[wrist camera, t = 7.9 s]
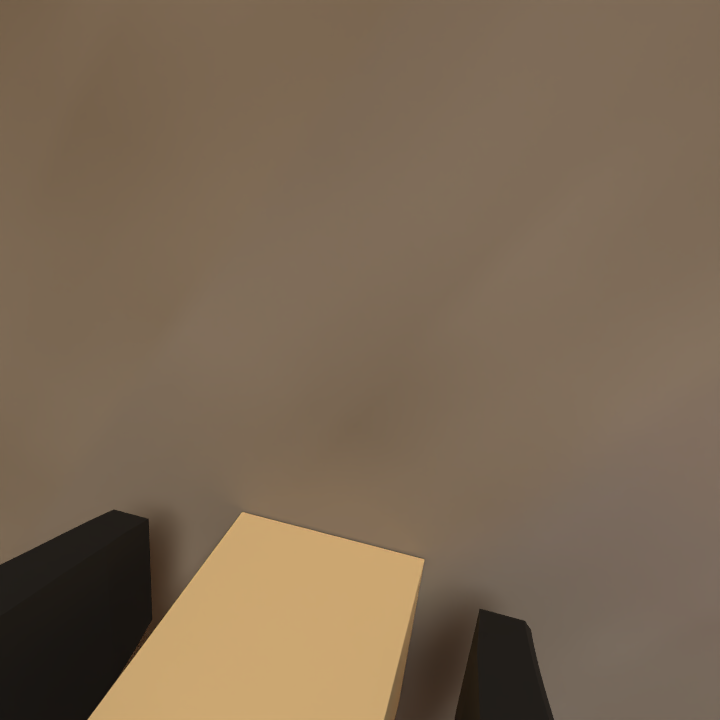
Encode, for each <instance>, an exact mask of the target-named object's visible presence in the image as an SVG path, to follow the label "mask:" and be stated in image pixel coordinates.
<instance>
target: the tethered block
mask: <svg viewBox="0 0 720 720" xmlns="http://www.w3.org/2000/svg"><path fill="white" fill-rule="evenodd" d="M424 560H425V559H421V558H417V557H413V556H410V555H406V554H402V553H398V552H394V551H390V550H386V549H383V548H379V547H375V546H371V545H367V544H363V543H359V542H356V541H352V540H348V539H344V538H340V537H336V536H333V535H329V534H325V533H321V532H317V531H313V530H309V529H306V528H302V527H298V526H294V525H290V524H286V523H282V522H279V521H275V520H271V519H267V518H263V517H259V516H255V515H252V514H248V513H244V512H242V513H241V514H240V516H239V517H238V518H237V520H236V521H235V522H234V524H233V525H232V526H231V528H230V529H229V530H228V532H227V533H226V534H225V536H224V537H223V539H222V540H221V541H220V543H219V544H218V545H217V547H216V548H215V549H214V551H213V552H212V553H211V555H210V556H209V557H208V559H207V560H206V561H205V563H204V564H203V565H202V567H201V568H200V569H199V571H198V572H197V573H196V575H195V576H194V577H193V579H192V580H191V581H190V583H189V584H188V586H187V587H186V588H185V590H184V591H183V592H182V594H181V595H180V596H179V598H178V599H177V600H176V602H175V603H174V604H173V606H172V607H171V608H170V610H169V611H168V612H167V614H166V615H165V616H164V618H163V619H162V620H161V622H160V623H159V624H158V626H157V627H156V628H155V630H154V631H153V633H152V634H151V635H150V637H149V638H148V639H147V641H146V642H145V643H144V645H143V646H142V647H141V649H140V650H139V651H138V653H137V654H136V655H135V657H134V658H133V659H132V661H131V662H130V663H129V665H128V666H127V667H126V669H125V670H124V671H123V673H122V674H121V675H120V677H119V678H118V679H117V681H116V682H115V684H114V685H113V686H112V688H111V689H110V690H109V692H108V693H107V694H106V696H105V697H104V698H103V700H102V701H101V702H100V704H99V705H98V706H97V708H96V709H95V710H94V712H93V713H92V714H91V716H90V717H89V718H88V720H395V716H396V712H397V707H398V703H399V699H400V693H401V688H402V682H403V677H404V671H405V666H406V660H407V654H408V649H409V643H410V638H411V632H412V627H413V621H414V616H415V610H416V604H417V599H418V593H419V588H420V582H421V577H422V571H423V565H424Z"/></svg>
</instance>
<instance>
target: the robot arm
mask: <svg viewBox="0 0 720 720" xmlns="http://www.w3.org/2000/svg"><path fill="white" fill-rule="evenodd" d="M151 620H152V602H151V575H150V548H149V521H148V519H147V518H143V517H139V516H136V515H132V514H128V513H125V512H121V511H117V510H112V511H110V512H107V513H105V514H103V515H101V516H98V517H96V518H94V519H92V520H90V521H88V522H86V523H84V524H82V525H80V526H78V527H76V528H74V529H72V530H70V531H68V532H66V533H64V534H62V535H60V536H58V537H56V538H54V539H52V540H50V541H48V542H46V543H44V544H42V545H40V546H38V547H36V548H34V549H32V550H30V551H28V552H26V553H24V554H21V555H19V556H17V557H15V558H13V559H11V560H9V561H7V562H5V563H3V564H1V565H0V720H87V719H88V718H89V716H90V715H91V714H92V712H93V711H94V710H95V708H96V707H97V706H98V704H99V703H100V702H101V700H102V699H103V698H104V696H105V695H106V694H107V692H108V691H109V689H110V688H111V687H112V685H113V684H114V683H115V681H116V680H117V678H118V676H119V675H120V673H121V671H122V670H123V668H124V667H125V665H126V663H127V662H128V660H129V658H130V657H131V655H132V653H133V652H134V650H135V648H136V646H137V645H138V643H139V641H140V639H141V638H142V636H143V634H144V632H145V631H146V629H147V627H148V625H149V624H150V622H151ZM455 720H554V718H553V715H552V712H551V708H550V705H549V701H548V698H547V695H546V691H545V688H544V684H543V681H542V677H541V673H540V669H539V665H538V661H537V657H536V653H535V648H534V644H533V639H532V633H531V629H530V628H529V626H528V625H527V624H526V622H525V621H523V620H519V619H516V618H512V617H508V616H505V615H501V614H497V613H494V612H490V611H486V610H483V609H480V611H479V615H478V619H477V623H476V628H475V632H474V636H473V641H472V645H471V649H470V653H469V658H468V662H467V666H466V671H465V675H464V679H463V683H462V688H461V692H460V696H459V701H458V705H457V709H456V714H455Z"/></svg>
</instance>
